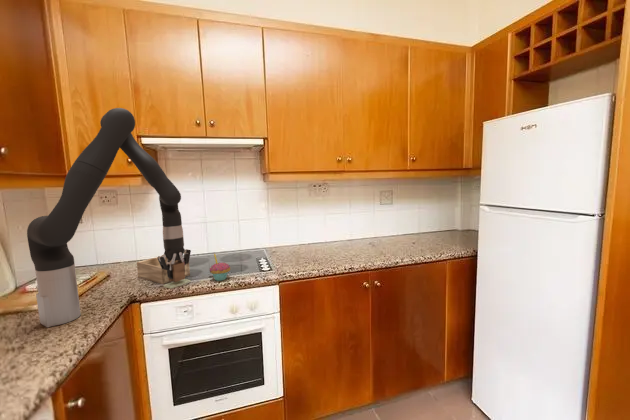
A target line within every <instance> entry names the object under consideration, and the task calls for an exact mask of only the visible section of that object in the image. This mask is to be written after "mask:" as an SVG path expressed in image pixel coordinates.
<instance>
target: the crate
mask: <svg viewBox="0 0 630 420" xmlns="http://www.w3.org/2000/svg"><path fill="white" fill-rule="evenodd" d="M157 257H158V256H156V257H153V258H149V259H144V260H141V261H137V262H136V267H137V268H136V269H137V278H140V279H143V280H147V281H148V282H152V283H153V282H154V283H157V284H160V285H166V284H169V283H172V281H169V278H168V275H167V270H164V269H162V268H161V265H160V263H159V261H158V258H157ZM165 259H166V260H165V262H167V258H166V257H165ZM170 262H171V261H170ZM174 262H177V260H176V261H174ZM166 264H167V263H166ZM190 271H191V270H190V262H189V263H188V264H186V265H185V278H186V277H188V276H190V275H191V273H190Z"/></svg>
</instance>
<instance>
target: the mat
mask: <svg viewBox="0 0 630 420" xmlns="http://www.w3.org/2000/svg"><path fill="white" fill-rule="evenodd" d="M188 283H191V279H188V278H187V279H186V278H185V279H183V280H180V281H177V282H173V281H171V282H168V283H165V284H162V286H163V287H164V288H167V289H174V288H177V287H180V286H182V285H185V284H188Z"/></svg>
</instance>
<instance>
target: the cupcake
mask: <svg viewBox="0 0 630 420" xmlns="http://www.w3.org/2000/svg"><path fill="white" fill-rule="evenodd" d="M213 256H214V257H213V258H214V260H215V263H213V264H212V265H211V266H210V267H209V273H210V274H212V276H213V279H214V281H218V282H219V281H225V280H226V279H227V276H228V273H229V272H230V271H231V266H230V264H229V263H227V262H218V259H217V255H216V253H215V252H213Z"/></svg>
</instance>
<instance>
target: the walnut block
mask: <svg viewBox="0 0 630 420" xmlns="http://www.w3.org/2000/svg"><path fill="white" fill-rule="evenodd" d="M172 267H173V268H172V270H173V279H169V281H171V282H177V281H180V280H183V279H186V277H185V270H184V263H183V262H182V263H181V262H178V261H177V262H174V265H172Z"/></svg>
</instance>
